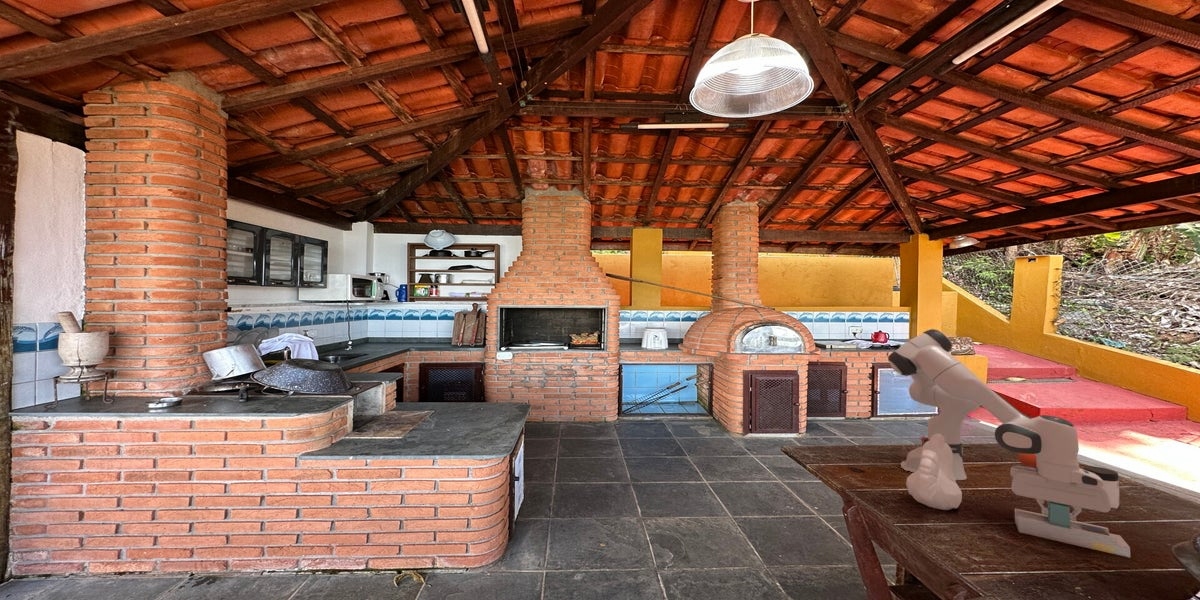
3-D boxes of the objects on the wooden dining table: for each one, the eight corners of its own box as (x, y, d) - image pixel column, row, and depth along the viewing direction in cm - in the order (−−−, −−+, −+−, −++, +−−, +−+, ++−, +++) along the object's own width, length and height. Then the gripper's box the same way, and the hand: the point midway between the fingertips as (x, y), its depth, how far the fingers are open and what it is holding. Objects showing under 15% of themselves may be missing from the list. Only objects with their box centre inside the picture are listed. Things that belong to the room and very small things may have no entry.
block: (1050, 523, 127) (1050, 503, 128) (1048, 518, 130) (1047, 499, 131) (1070, 527, 125) (1069, 507, 125) (1067, 522, 128) (1066, 502, 128)
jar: (1117, 511, 147) (1116, 476, 147) (1082, 502, 154) (1081, 468, 154) (1121, 504, 152) (1120, 470, 152) (1087, 496, 159) (1086, 464, 159)
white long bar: (1019, 535, 130) (1018, 517, 130) (1015, 525, 137) (1014, 508, 137) (1130, 562, 117) (1129, 542, 117) (1120, 549, 123) (1119, 530, 123)
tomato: (1017, 469, 185) (1016, 446, 186) (1018, 464, 192) (1018, 441, 193) (1051, 476, 178) (1050, 452, 178) (1051, 470, 185) (1050, 447, 185)
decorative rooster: (921, 490, 163) (920, 426, 164) (972, 507, 149) (971, 436, 150) (886, 504, 151) (884, 435, 152) (938, 524, 137) (936, 447, 138)
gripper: (1011, 466, 132) (1012, 510, 132) (1111, 482, 119) (1113, 532, 119) (1008, 460, 137) (1009, 503, 137) (1104, 476, 124) (1106, 523, 124)
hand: (1058, 517), depth 128 cm, fingers closed on block, 4 cm apart
